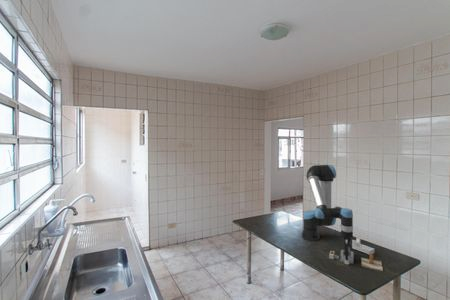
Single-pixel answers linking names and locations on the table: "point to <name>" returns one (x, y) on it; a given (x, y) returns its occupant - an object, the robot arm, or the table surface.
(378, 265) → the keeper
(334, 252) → the beige box with knob
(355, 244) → the bracket
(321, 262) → the table surface
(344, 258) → the link
